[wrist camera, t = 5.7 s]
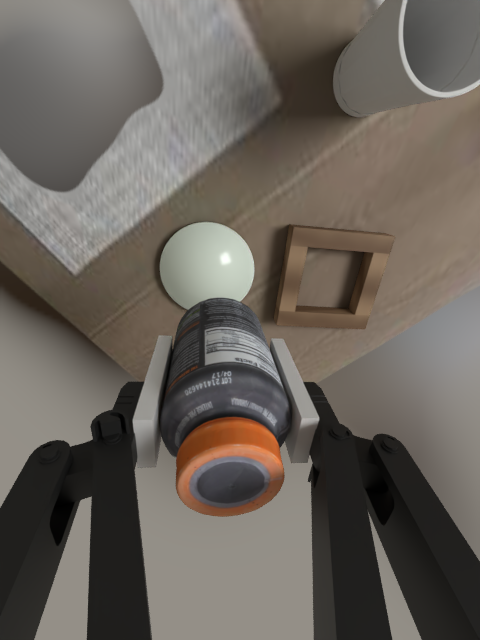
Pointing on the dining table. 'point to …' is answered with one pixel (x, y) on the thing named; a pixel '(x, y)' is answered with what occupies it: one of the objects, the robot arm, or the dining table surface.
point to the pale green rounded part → (206, 264)
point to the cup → (410, 56)
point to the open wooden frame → (365, 287)
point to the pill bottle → (224, 411)
